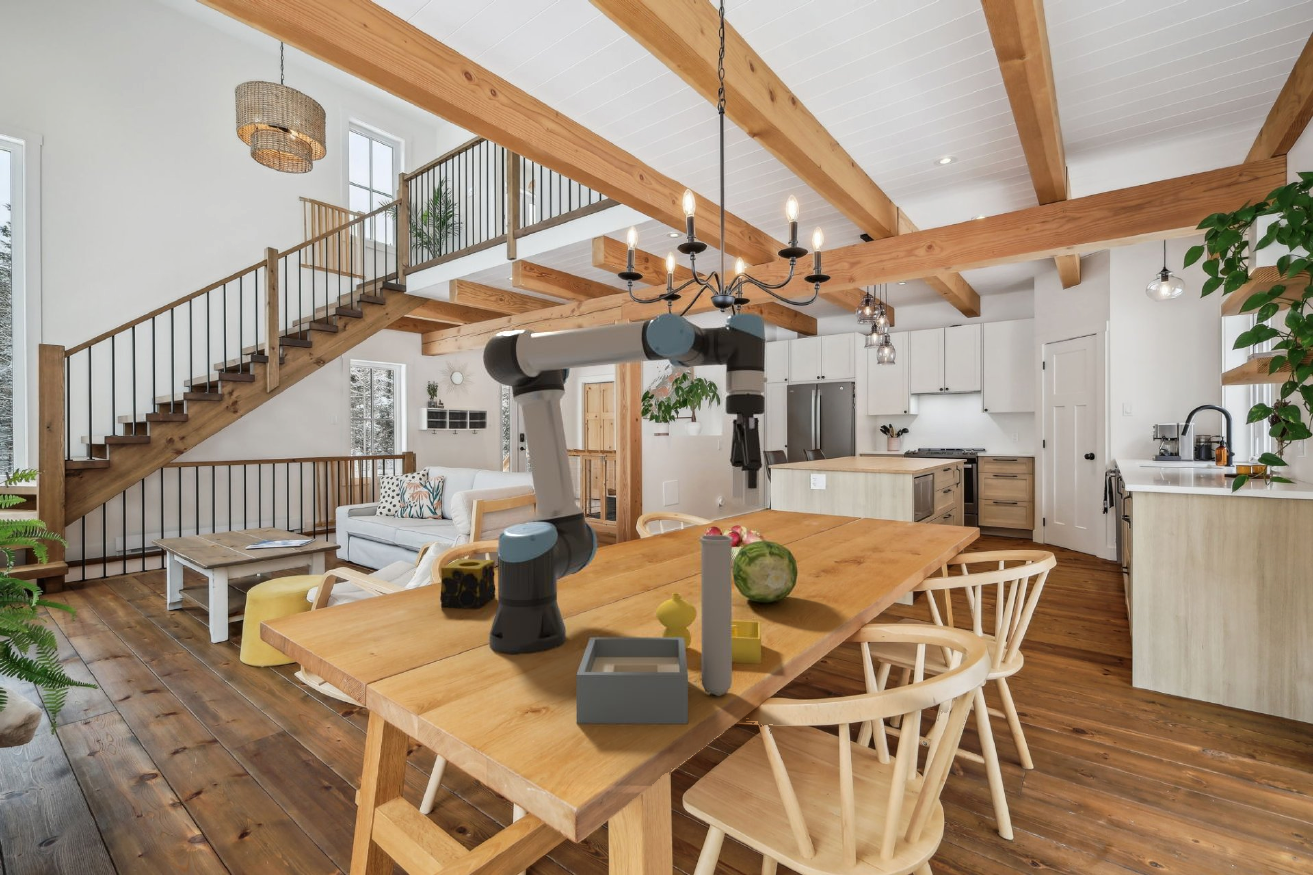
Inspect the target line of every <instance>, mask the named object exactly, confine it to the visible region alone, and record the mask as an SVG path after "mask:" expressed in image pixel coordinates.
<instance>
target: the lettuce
mask: <svg viewBox="0 0 1313 875" xmlns="http://www.w3.org/2000/svg"><path fill="white" fill-rule="evenodd" d="M731 573H732V577H733V583H734V585H735V587H736V589H737V591H738V592H739V593H740V595H741V596H743V597H745V598H747V599H749V600H750V601H754V602H758V603H771V602H772V603H773V602H779V601H781V600H782V599H785V598H786V597H787V596H789V595H790V594H791V592H792V591H793V589H794V588H795V587H796V585H797V580H798V573H799V571H798V567H797V561H796V558H795V557H794V555H793V554H792V552H791V551H790V550H789V549H788V548H786V547H784V546H783V545H781V544H780V543H778V542H773V541H768V540H767V541H766V540H760V541H754V542H750V543H747V545H745V546H743V547H742V548H740V549H739V551H738V552H737V554H736V556H735V557H734V558H733V565H732V569H731Z"/></svg>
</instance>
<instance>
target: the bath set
mask: <svg viewBox="0 0 1313 875" xmlns="http://www.w3.org/2000/svg"><path fill="white" fill-rule="evenodd" d="M655 614H656V617H657V620H658V622H660V624H661V625H662V626H664V627H665V629H664V630H663V632H662V635H661V637H684V641H685V650H687V648H688V647H690V645H691V642H692V636H691V635H692V634H691V632H690V630H689V629H688V628H687V627H690V626H691V625H692V624H693V622H695V620H696V618H697V615H698V613H697V609H696V607H695V606H694V605H693V604H692V603H691V602H690V601H688V600H685V599H682V594H681V593H678V592H677V593H676V592H673V593H671V598H669V599H667V600H664V601H663V602H662V603H660V605H659V606H658V607H657V608H656V611H655ZM761 627H762V626H761V621H755V620H754V621H753V620H736V619H734V620H733V619H732V663H737V664H738V663H740V664H755V665H756V664H757V665H762V634H761V633H762V632H761V631H762V630H761Z"/></svg>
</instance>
